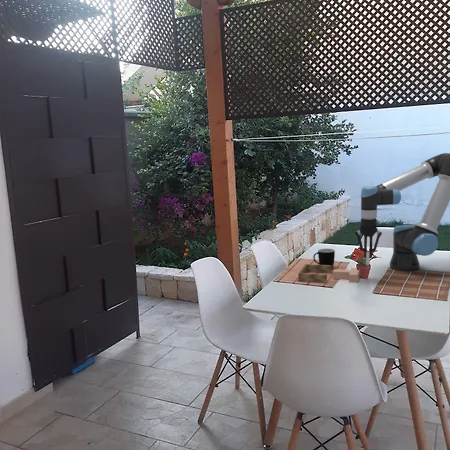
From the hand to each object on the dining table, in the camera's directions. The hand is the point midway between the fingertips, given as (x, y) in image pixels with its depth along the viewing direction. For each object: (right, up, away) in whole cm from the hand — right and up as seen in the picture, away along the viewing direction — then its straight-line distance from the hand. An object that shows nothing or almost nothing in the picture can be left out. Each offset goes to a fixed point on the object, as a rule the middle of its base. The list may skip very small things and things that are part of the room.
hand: (367, 264), depth 234 cm
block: (-9, -8, +5) cm, 13 cm away
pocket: (-23, -7, +11) cm, 27 cm away
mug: (-16, -4, +27) cm, 32 cm away
